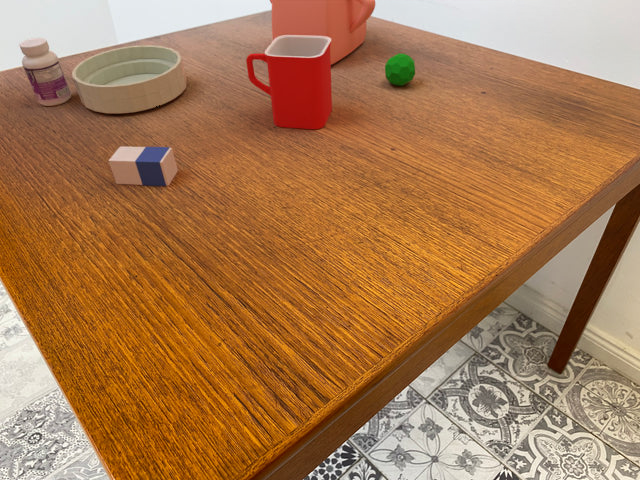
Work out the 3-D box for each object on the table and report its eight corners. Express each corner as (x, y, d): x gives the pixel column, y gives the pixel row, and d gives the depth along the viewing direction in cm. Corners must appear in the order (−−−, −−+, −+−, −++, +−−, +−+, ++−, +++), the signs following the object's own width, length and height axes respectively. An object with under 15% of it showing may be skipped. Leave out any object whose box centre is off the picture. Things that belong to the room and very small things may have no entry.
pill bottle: (37, 97, 88) (13, 40, 82) (70, 90, 90) (48, 33, 83) (40, 110, 84) (15, 50, 78) (74, 102, 86) (52, 43, 80)
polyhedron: (379, 87, 85) (380, 58, 82) (390, 76, 88) (391, 48, 85) (409, 92, 83) (411, 62, 80) (418, 80, 86) (420, 51, 83)
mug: (335, 105, 80) (333, 36, 74) (324, 131, 74) (320, 58, 67) (262, 101, 83) (253, 33, 76) (245, 125, 77) (234, 54, 70)
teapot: (354, 74, 89) (354, -13, 80) (251, 55, 98) (240, -25, 89) (400, 37, 102) (405, -42, 93) (305, 23, 111) (301, -50, 102)
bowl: (63, 115, 82) (51, 85, 79) (110, 72, 95) (101, 45, 92) (166, 118, 80) (158, 87, 77) (200, 73, 93) (194, 45, 90)
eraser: (116, 184, 66) (107, 160, 64) (128, 169, 69) (120, 145, 67) (168, 186, 65) (161, 162, 63) (178, 171, 68) (172, 146, 66)
